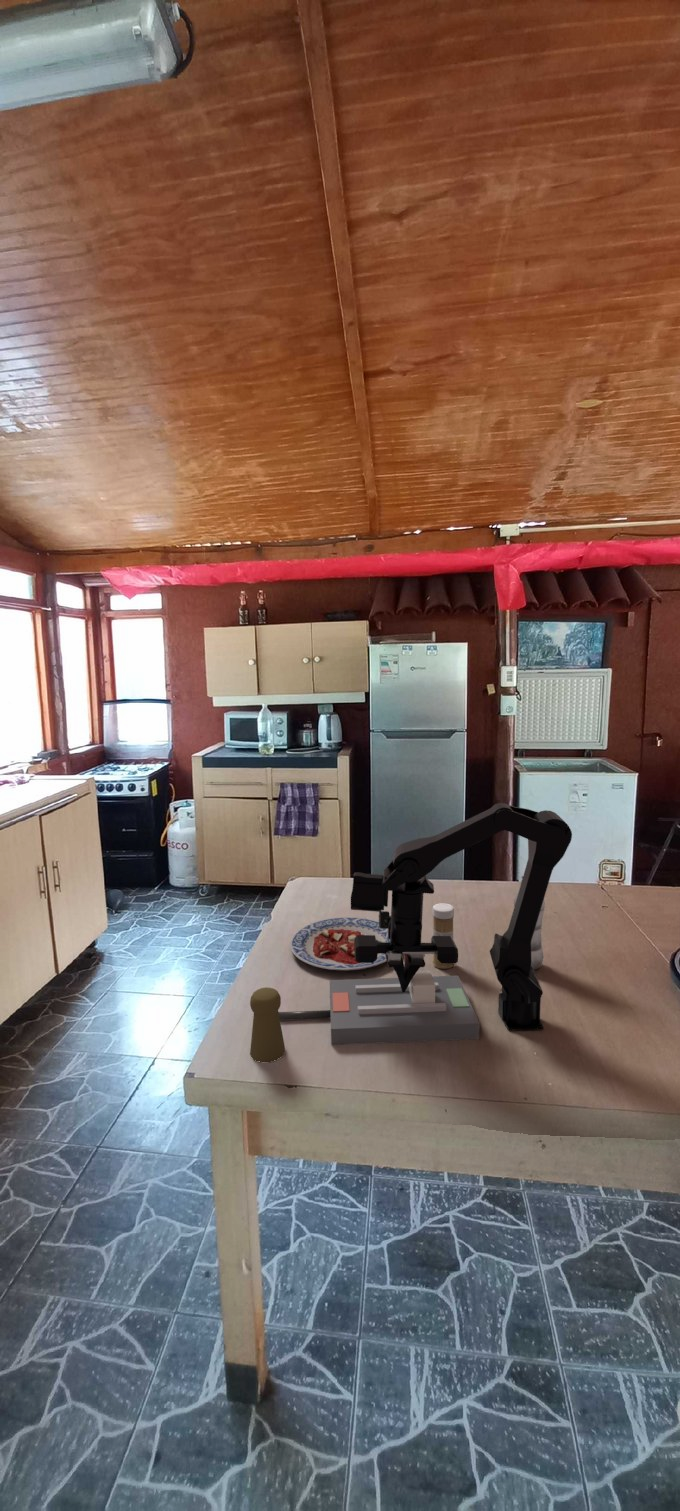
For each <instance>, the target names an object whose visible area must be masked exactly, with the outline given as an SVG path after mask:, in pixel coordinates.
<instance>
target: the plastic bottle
mask: <svg viewBox="0 0 680 1511" xmlns="http://www.w3.org/2000/svg"><path fill="white" fill-rule="evenodd" d="M520 878H521V879H520V883H521V882H522V879H523V875H522V876H521V877H520ZM518 893H519V891H518V892H517V893H516V894H515V897H514V899H513V905H514V906H513V908H514V907H515V903H516V900H517V896H518ZM545 907H546V901H545V899H544V900H543V904H542V907H541V910H540V914H539V917H538V921H537V924H536V927H535V931H534V934H533V937H532V941H531V959H532V963H531V966H532V967H533V970H534V971H535V970H538V969H539V968H540V967H541V966H542V965H543V962H544V950H543V949H544V948H543V944H542V942H543V940H542V927H543V918H544V913H545Z"/></svg>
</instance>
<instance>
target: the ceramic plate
mask: <svg viewBox="0 0 680 1511" xmlns="http://www.w3.org/2000/svg"><path fill="white" fill-rule="evenodd" d="M361 933H362V934H361ZM365 934H366V935H375V938H376V942H390V939H389V938H388V929H381V928H380V927H379V921H376V920H373V919H368V918H362V917H343V916H342V917H332V918H328V919H327V918H326V919H322V920H317V921H315V922H311V923H310V924H307V925H305V926H304V927H301V928H300V929H299V930H297V931H296V932H295V933H294V934H293V935H292V937H291V939H290V942H289V943H290V946H289V947H290V950H291V952H292V953H293V955H294V956H295V957H296V958H297V959H298V960H300V961H301V962H303V963H305V964H308V965H310V966H312V967H314V968H315V967H316V968H320V969H324V970H330V971H356V970H357V971H358V970H363V969H370V968H373V967H376V966H379V965H383V963H384V964H385V963H387V961H386V956H385V953H378V954H377V960H375V961H374V962H373V963H358V962H356V961H355V953H354V938H355V937H356V936H357V935H365Z"/></svg>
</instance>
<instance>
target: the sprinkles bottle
mask: <svg viewBox="0 0 680 1511" xmlns="http://www.w3.org/2000/svg"><path fill="white" fill-rule="evenodd" d="M432 917H433V927H432V936H450V937H451V938H452V939H453V940H454V917H455V908H454V906H453V905H451V904H449V903H444V902H440V903H436V904H434V905H433V906H432ZM432 955H433V958H432V959H433V960H432V964H433V965H434V967H436V968H437V969H441V970H447V969H448V970H449V969H451V968H453V966H454V965H455V963H441V962H440V961H439V960H438V959H437V954H432Z"/></svg>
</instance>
